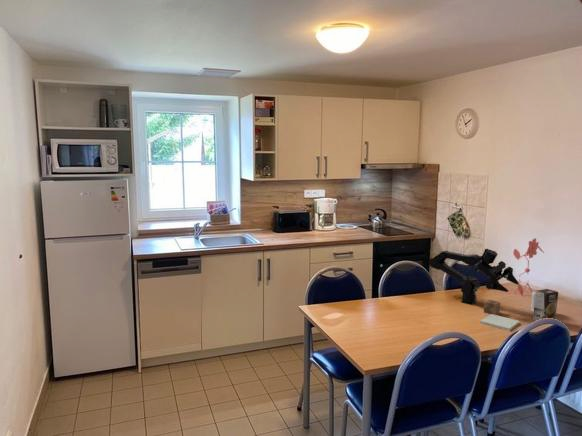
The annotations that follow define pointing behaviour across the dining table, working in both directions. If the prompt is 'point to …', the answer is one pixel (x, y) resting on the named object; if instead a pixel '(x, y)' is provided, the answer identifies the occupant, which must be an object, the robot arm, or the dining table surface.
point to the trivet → (500, 322)
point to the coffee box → (545, 304)
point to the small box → (533, 301)
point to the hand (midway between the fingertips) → (513, 287)
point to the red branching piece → (531, 252)
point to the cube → (491, 307)
